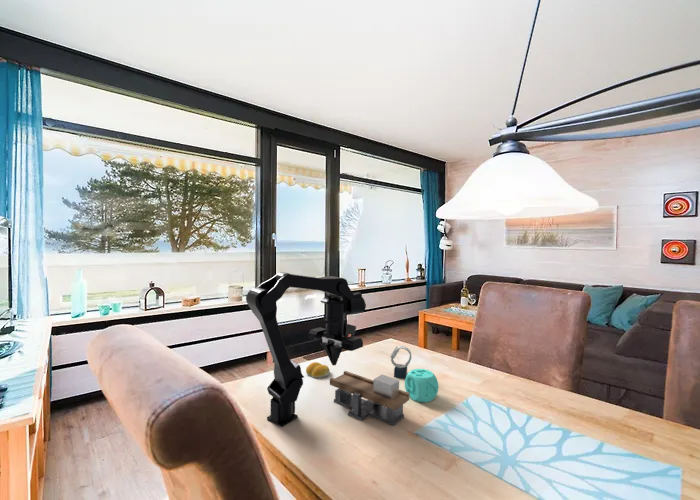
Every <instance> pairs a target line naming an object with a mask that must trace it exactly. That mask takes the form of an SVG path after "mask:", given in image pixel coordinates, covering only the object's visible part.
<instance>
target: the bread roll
mask: <svg viewBox="0 0 700 500" xmlns="http://www.w3.org/2000/svg"><path fill="white" fill-rule="evenodd" d="M305 373H306V374H307V376H310V377H312V378H315V379H321V378H325V377H327V376H329V374H330V368H329V366H328V365H326V364H322V363H320V362H316V361H314V362H311V363H309V365H308V366H307V367H306V368H305Z"/></svg>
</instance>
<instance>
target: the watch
mask: <svg viewBox="0 0 700 500" xmlns="http://www.w3.org/2000/svg"><path fill="white" fill-rule="evenodd" d="M400 349H403V350H405V351H406V352H407V353H408V354H409V357H408V360H407V361H406V362H405V363H404V364H402V363H401V364H399V363H396V362H395V361H394V359H395V358H396V356H397V354H399V352H400ZM389 358H390V361H391V364H392V365H393V366H394V369H393V378H395V377H396V378H395V379H404V380H405V378H406V376H407V374H408V367H409V364H410V363H411V360H412V351H411V350H410V349H409V348H408V346H406V345H405V346H404V345H399V346H395V348H394V350H393V351H392V352H391V355H390V357H389Z"/></svg>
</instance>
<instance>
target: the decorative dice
mask: <svg viewBox="0 0 700 500" xmlns="http://www.w3.org/2000/svg"><path fill="white" fill-rule="evenodd" d="M439 387H440V386H439V381H438V378H437V377H436V375H435V373H433V372H432V371H431V370H429V369H425V368H413V369H411V370H410V371H409V372H407V376H406V378H405V379H404V389H405V392H408V393H410V397H409V399H411V400H413V401H414V402H418V403H428V402H431V401H433V400H434V399H435V398H436V397H437V395H438V392H439V389H440V388H439Z"/></svg>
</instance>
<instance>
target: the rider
mask: <svg viewBox="0 0 700 500" xmlns="http://www.w3.org/2000/svg"><path fill="white" fill-rule="evenodd" d="M373 381H374V382H373V393H375V394H377V395H380V396H383V397H385V398H388V399H391V400H393V399H394V398H395V397H397V396H398V395H399V390H400V379H399V378H395V377H391V376H387V375H384V374H380V375H378V376H377V377H375V378H373Z"/></svg>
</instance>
